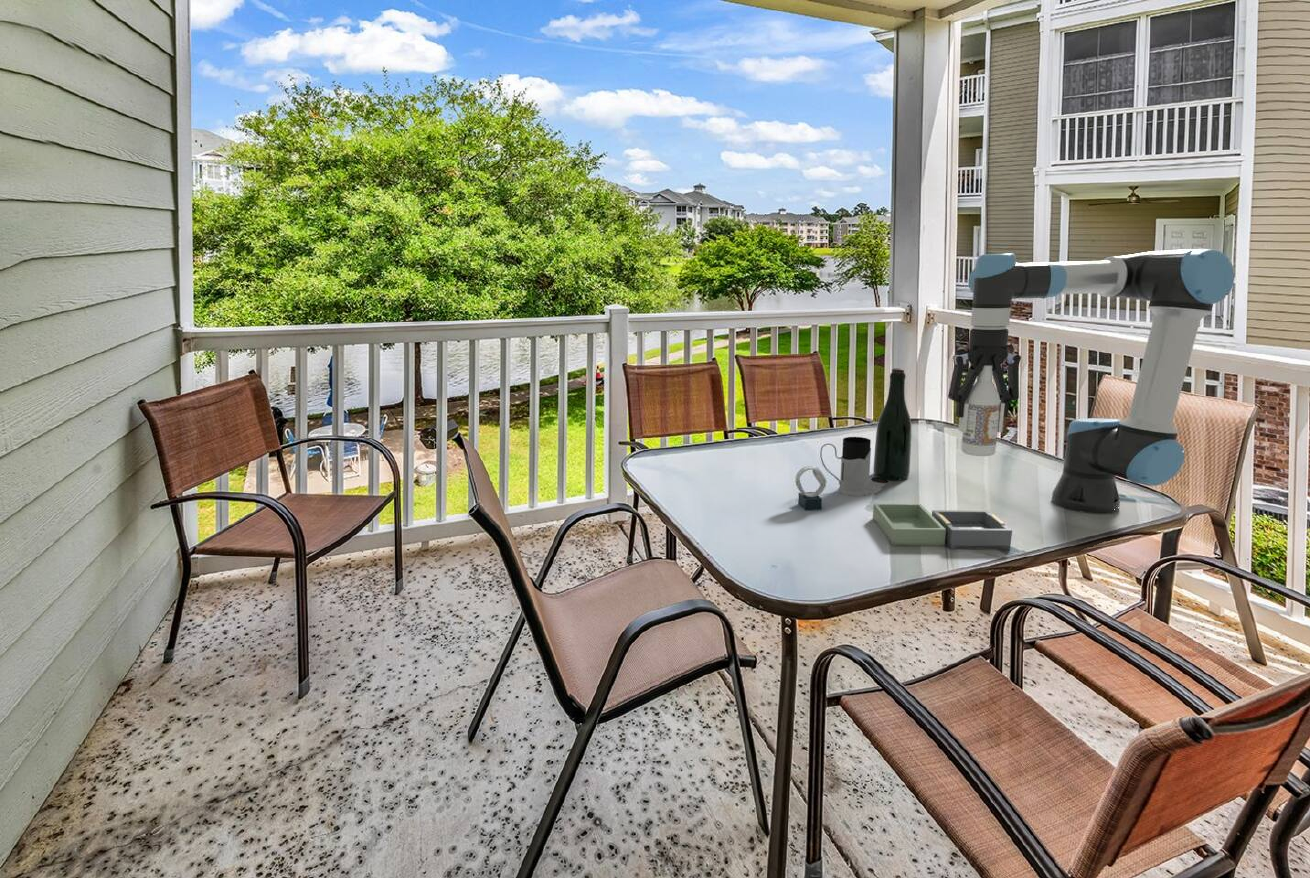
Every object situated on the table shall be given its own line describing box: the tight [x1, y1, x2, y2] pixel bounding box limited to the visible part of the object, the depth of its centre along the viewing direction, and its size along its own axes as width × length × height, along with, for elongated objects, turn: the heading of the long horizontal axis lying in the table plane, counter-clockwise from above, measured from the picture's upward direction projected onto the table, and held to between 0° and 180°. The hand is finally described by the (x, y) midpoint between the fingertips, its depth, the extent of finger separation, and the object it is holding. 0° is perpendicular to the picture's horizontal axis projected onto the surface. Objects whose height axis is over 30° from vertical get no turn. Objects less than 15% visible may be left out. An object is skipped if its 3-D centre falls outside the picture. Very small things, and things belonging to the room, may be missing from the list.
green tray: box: [872, 503, 946, 547], centre depth 162 cm, size 12×18×4 cm, turn 177°
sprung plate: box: [951, 523, 988, 529], centre depth 158 cm, size 10×10×1 cm
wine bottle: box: [872, 367, 913, 481], centre depth 203 cm, size 10×10×33 cm
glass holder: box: [819, 436, 872, 497], centre depth 192 cm, size 9×14×15 cm, turn 80°
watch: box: [794, 465, 828, 512], centre depth 180 cm, size 6×8×11 cm
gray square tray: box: [931, 509, 1013, 550], centre depth 157 cm, size 13×13×5 cm
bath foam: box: [961, 365, 1001, 457], centre depth 151 cm, size 7×7×20 cm
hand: (980, 430), depth 152 cm, fingers closed on bath foam, 7 cm apart
